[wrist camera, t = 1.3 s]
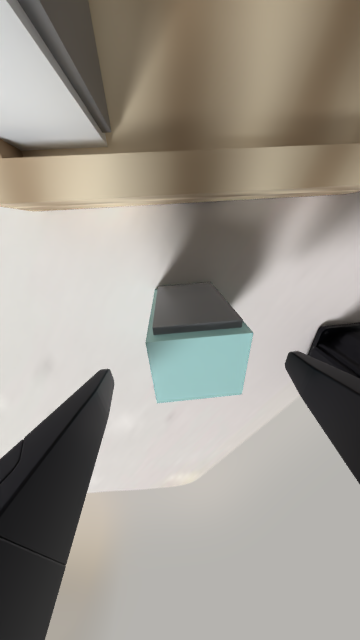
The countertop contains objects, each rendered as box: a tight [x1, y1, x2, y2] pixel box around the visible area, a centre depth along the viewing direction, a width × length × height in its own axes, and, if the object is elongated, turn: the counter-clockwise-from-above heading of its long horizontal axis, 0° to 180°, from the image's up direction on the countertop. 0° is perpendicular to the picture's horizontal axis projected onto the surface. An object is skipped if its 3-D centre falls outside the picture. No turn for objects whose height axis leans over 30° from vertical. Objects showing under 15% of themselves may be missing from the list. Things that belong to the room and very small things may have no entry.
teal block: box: [146, 282, 253, 403], centre depth 11 cm, size 4×5×7 cm
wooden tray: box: [0, 0, 360, 211], centre depth 7 cm, size 20×9×3 cm, turn 93°
